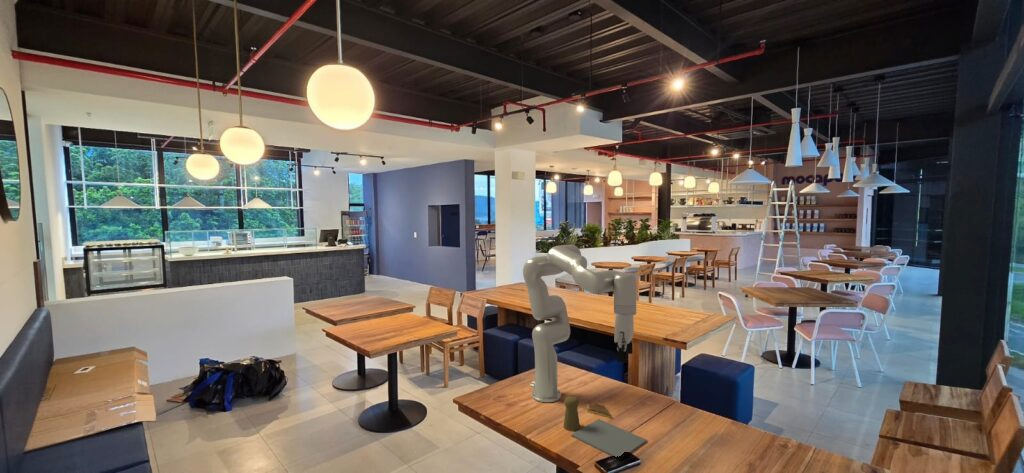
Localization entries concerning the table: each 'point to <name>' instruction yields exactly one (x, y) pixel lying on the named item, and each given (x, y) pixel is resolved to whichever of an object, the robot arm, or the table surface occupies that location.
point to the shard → (598, 410)
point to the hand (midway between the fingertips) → (624, 357)
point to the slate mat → (609, 438)
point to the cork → (571, 414)
